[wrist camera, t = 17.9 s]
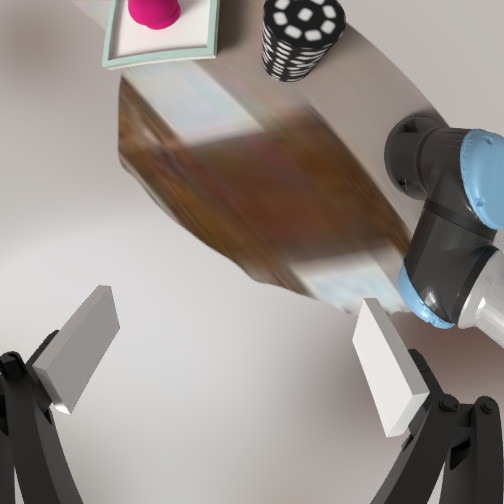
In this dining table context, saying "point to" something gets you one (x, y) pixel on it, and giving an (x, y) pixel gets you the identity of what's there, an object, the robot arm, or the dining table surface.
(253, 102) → the dining table surface
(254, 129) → the dining table surface
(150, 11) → the pepper mill
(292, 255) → the dining table surface
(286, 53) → the white-spotted black cylinder
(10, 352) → the robot arm
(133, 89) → the dining table surface
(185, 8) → the rolling base
